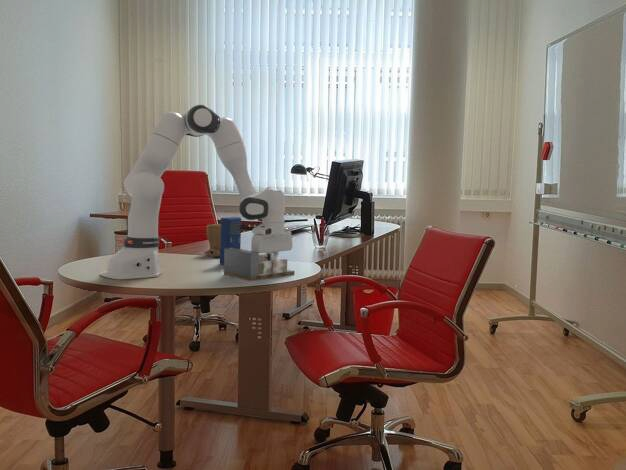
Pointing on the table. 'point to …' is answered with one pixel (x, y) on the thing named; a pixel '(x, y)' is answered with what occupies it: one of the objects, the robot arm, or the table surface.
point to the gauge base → (267, 270)
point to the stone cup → (214, 240)
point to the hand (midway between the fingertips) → (272, 263)
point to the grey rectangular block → (241, 262)
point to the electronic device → (230, 234)
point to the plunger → (265, 257)
